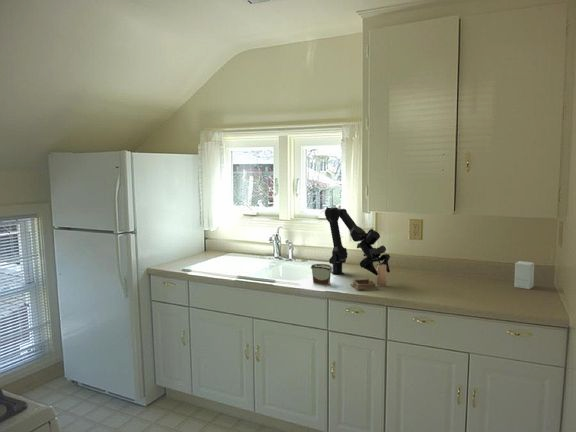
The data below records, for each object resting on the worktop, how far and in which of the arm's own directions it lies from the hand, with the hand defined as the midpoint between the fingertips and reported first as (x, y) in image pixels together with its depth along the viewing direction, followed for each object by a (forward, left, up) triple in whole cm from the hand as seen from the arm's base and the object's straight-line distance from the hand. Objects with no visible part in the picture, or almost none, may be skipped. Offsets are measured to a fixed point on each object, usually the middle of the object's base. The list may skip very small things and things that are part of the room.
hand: (383, 273), depth 230 cm
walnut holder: (0, -11, -7) cm, 13 cm away
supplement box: (+19, +69, -7) cm, 72 cm away
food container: (-13, -29, -7) cm, 33 cm away
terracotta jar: (-1, -1, -7) cm, 7 cm away
